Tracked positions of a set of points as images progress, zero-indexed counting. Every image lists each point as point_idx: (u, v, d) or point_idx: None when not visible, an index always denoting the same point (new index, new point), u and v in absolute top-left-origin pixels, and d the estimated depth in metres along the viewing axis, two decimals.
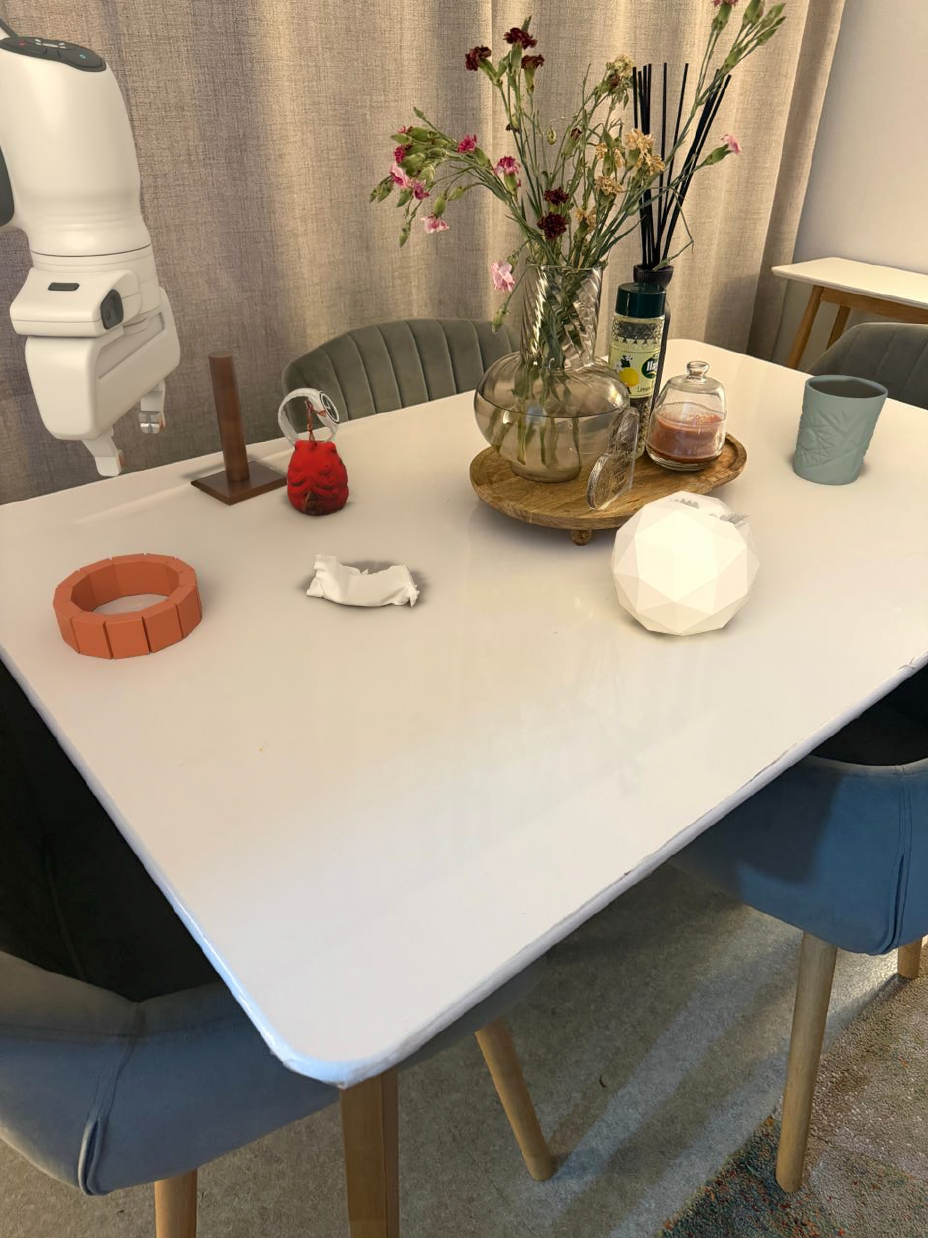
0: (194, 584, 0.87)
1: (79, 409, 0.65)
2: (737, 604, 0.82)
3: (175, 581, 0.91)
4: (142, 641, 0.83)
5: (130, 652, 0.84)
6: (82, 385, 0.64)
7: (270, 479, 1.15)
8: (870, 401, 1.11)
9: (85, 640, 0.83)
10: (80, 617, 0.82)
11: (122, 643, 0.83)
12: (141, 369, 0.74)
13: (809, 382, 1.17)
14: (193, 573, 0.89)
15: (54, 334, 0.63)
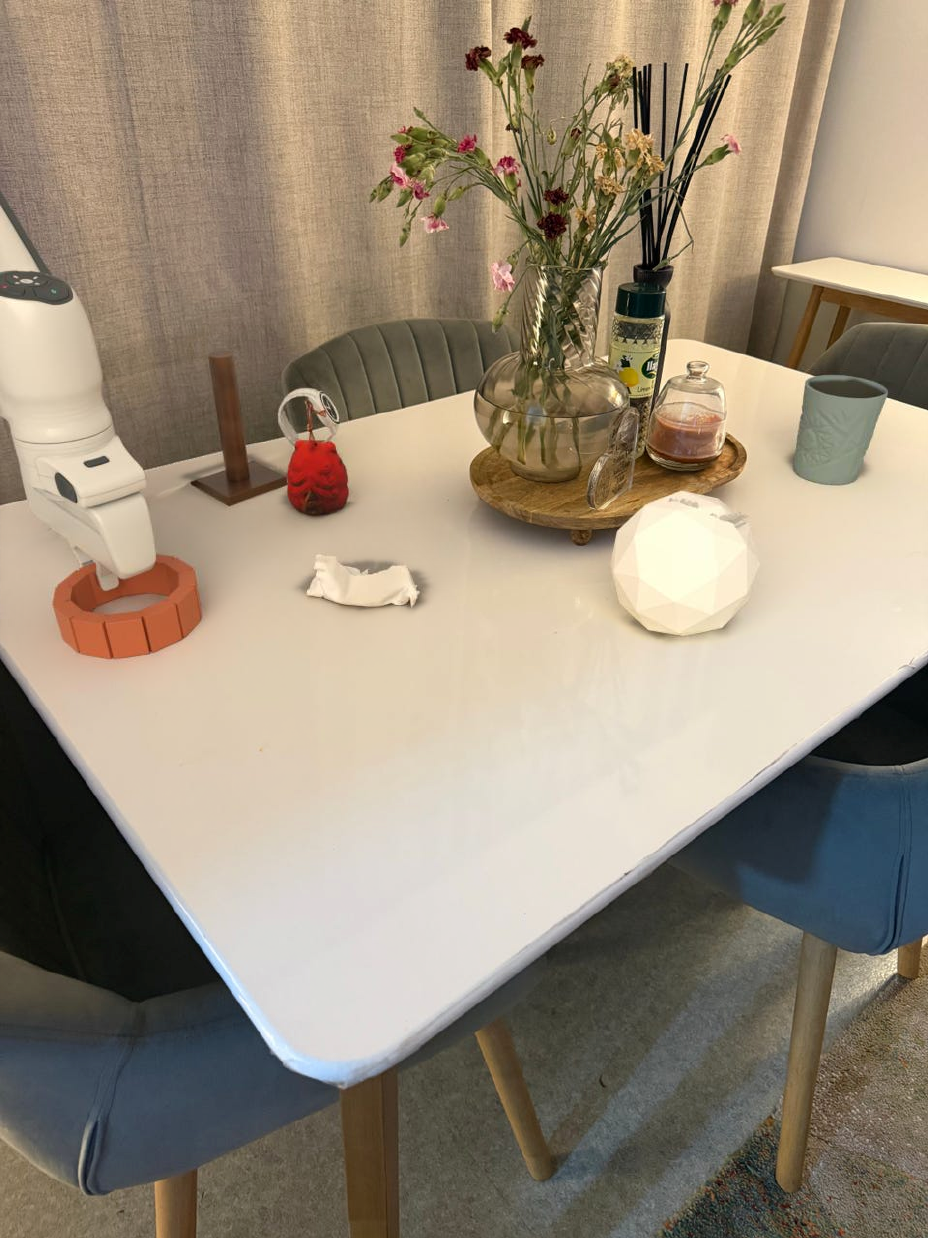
0: (194, 584, 0.87)
1: (148, 547, 0.82)
2: (737, 604, 0.82)
3: (175, 581, 0.91)
4: (142, 641, 0.83)
5: (130, 652, 0.84)
6: (148, 528, 0.82)
7: (270, 479, 1.15)
8: (870, 401, 1.11)
9: (85, 640, 0.83)
10: (80, 617, 0.82)
11: (122, 643, 0.83)
12: None
13: (809, 382, 1.17)
14: (193, 573, 0.89)
15: (117, 498, 0.80)
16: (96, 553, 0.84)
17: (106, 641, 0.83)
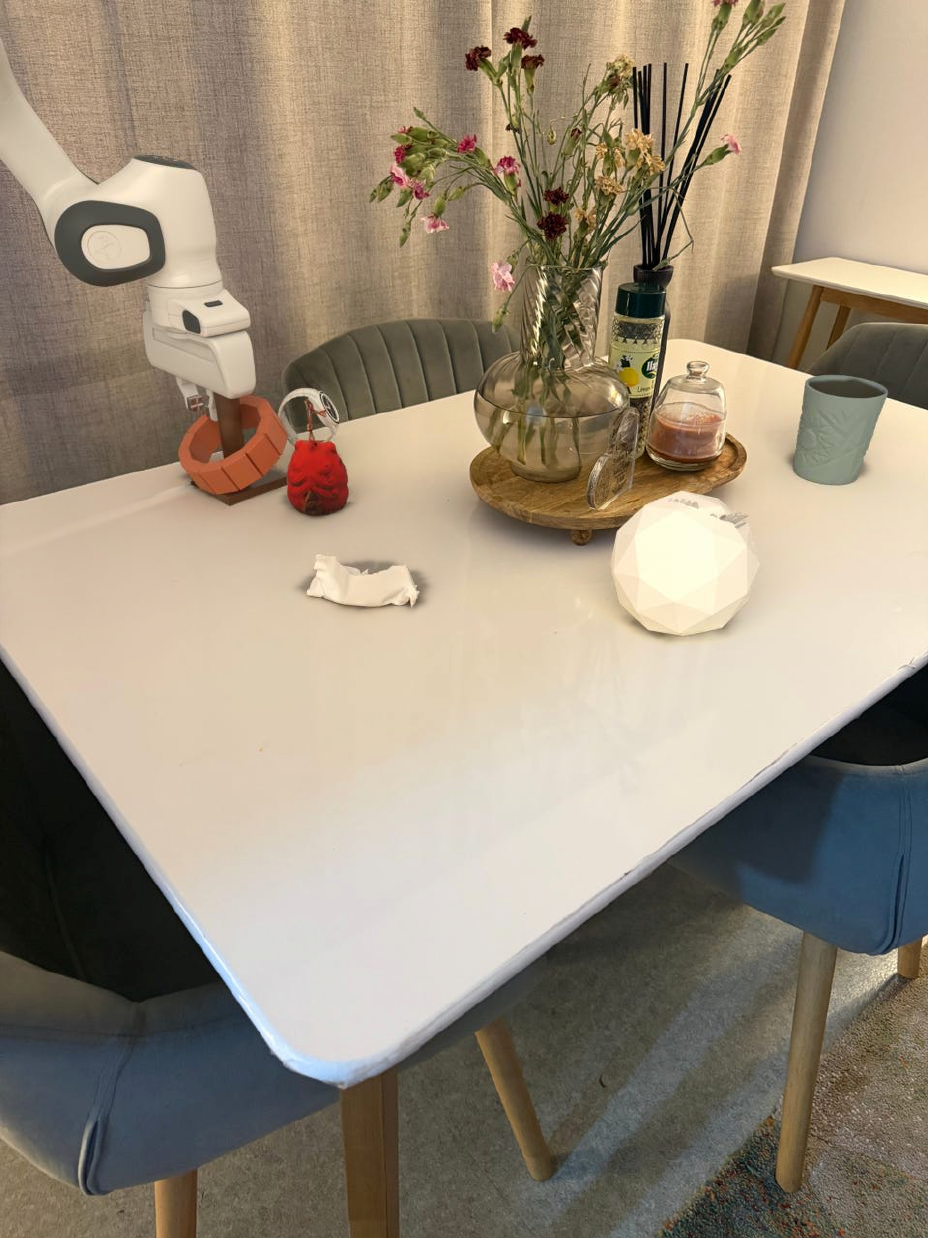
0: (271, 412, 1.10)
1: (250, 373, 1.06)
2: (737, 604, 0.82)
3: (257, 414, 1.14)
4: (253, 470, 1.09)
5: (248, 481, 1.10)
6: (251, 358, 1.06)
7: (270, 479, 1.15)
8: (870, 401, 1.11)
9: (215, 484, 1.10)
10: (204, 469, 1.08)
11: (240, 476, 1.09)
12: None
13: (809, 382, 1.17)
14: (267, 403, 1.12)
15: (229, 331, 1.04)
16: (208, 381, 1.08)
17: (229, 479, 1.09)
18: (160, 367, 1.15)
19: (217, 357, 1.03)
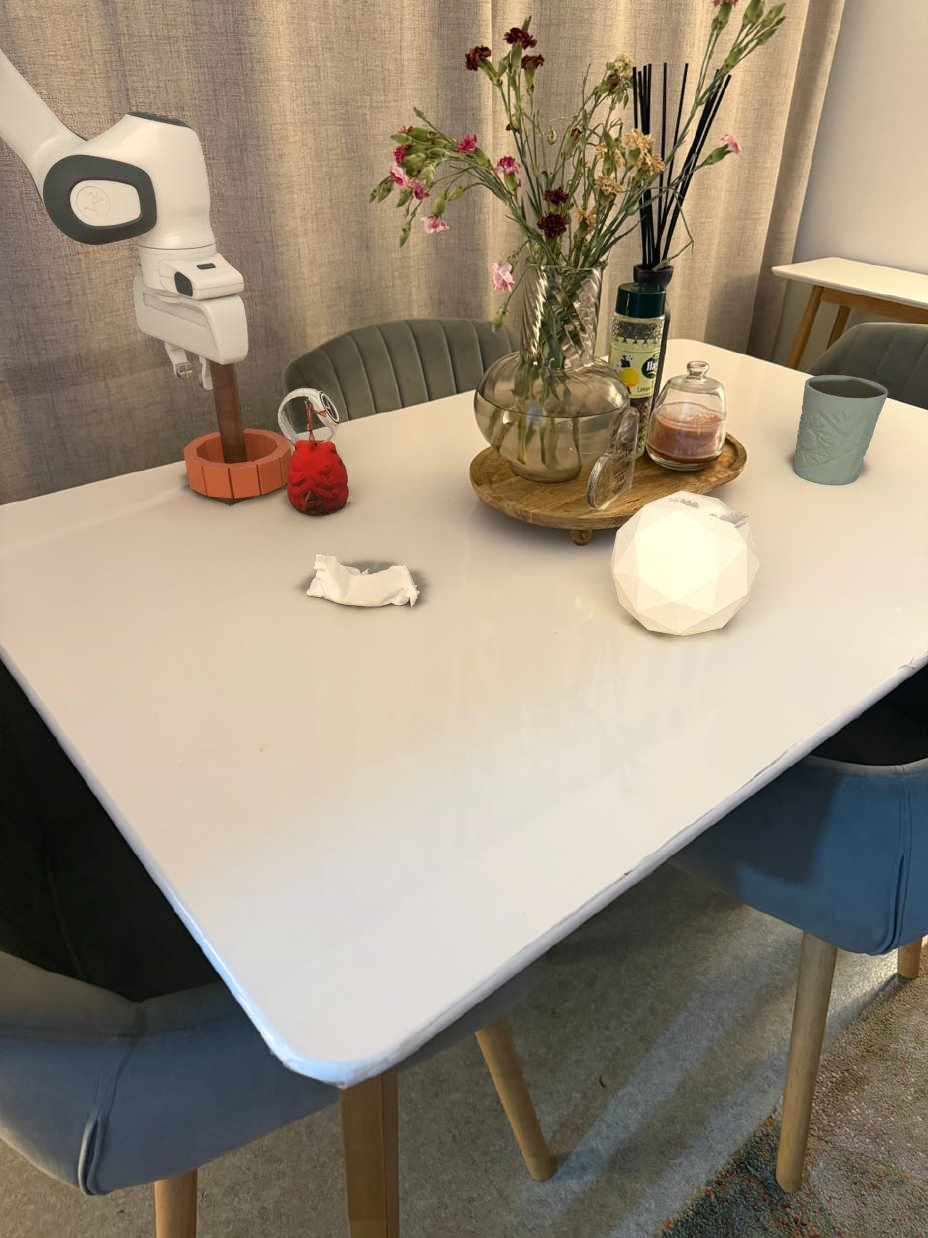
0: (289, 445, 1.14)
1: (243, 339, 1.04)
2: (737, 604, 0.82)
3: (271, 447, 1.17)
4: (255, 484, 1.10)
5: (246, 493, 1.10)
6: (244, 323, 1.04)
7: None
8: (870, 401, 1.11)
9: (212, 483, 1.10)
10: (209, 465, 1.09)
11: (241, 485, 1.10)
12: None
13: (809, 382, 1.17)
14: (286, 439, 1.16)
15: (222, 294, 1.02)
16: (200, 346, 1.06)
17: (229, 483, 1.09)
18: (150, 333, 1.13)
19: (209, 321, 1.01)
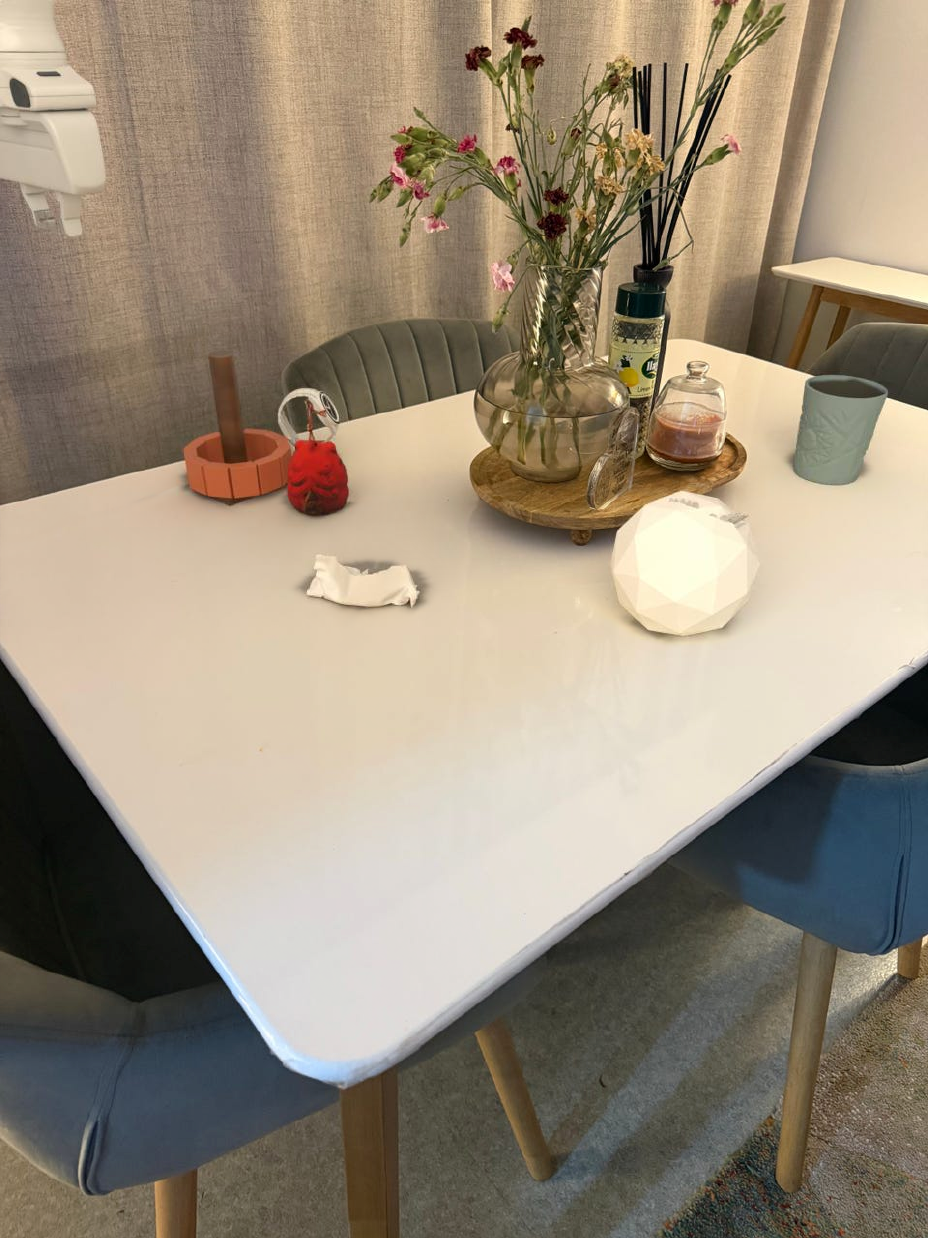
0: (289, 445, 1.14)
1: (98, 164, 0.89)
2: (737, 604, 0.82)
3: (271, 447, 1.17)
4: (255, 484, 1.10)
5: (246, 493, 1.10)
6: (98, 144, 0.89)
7: None
8: (870, 401, 1.11)
9: (212, 483, 1.10)
10: (209, 465, 1.09)
11: (241, 485, 1.10)
12: None
13: (809, 382, 1.17)
14: (286, 439, 1.16)
15: (68, 106, 0.86)
16: (50, 176, 0.91)
17: (229, 483, 1.09)
18: (5, 176, 0.98)
19: (52, 137, 0.86)
